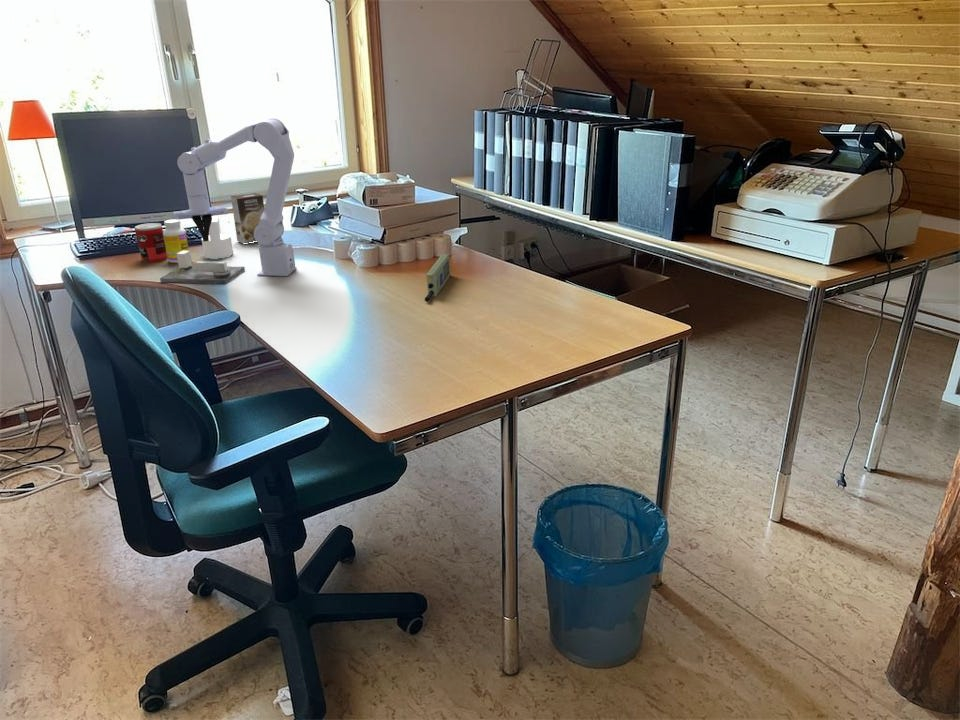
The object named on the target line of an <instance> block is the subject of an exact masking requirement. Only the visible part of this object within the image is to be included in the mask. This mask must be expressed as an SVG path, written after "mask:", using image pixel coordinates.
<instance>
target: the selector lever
mask: <svg viewBox="0 0 960 720" xmlns="http://www.w3.org/2000/svg"><path fill="white" fill-rule="evenodd" d="M191 266H192V269H193V272H213V275H214V276H225V275H229V274H230V273H231V272H230V270H228V269H227V266H228V263H227V261H210V260H209V261H208V260H207V261H205V260H204V261H203V260H192V265H191Z"/></svg>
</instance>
